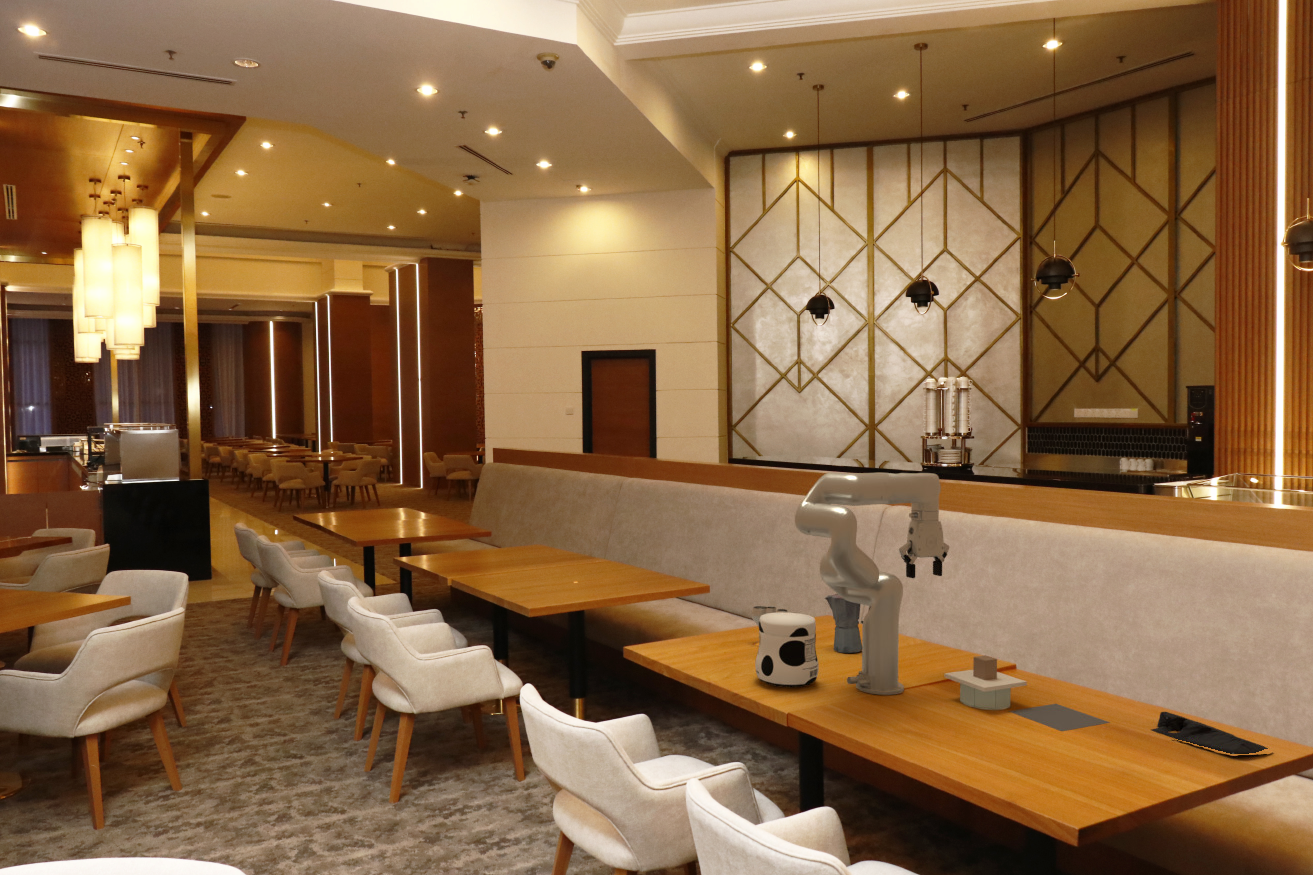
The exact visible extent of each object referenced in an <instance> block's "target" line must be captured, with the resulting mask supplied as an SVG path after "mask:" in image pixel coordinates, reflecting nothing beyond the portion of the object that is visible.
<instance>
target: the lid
mask: <svg viewBox="0 0 1313 875" xmlns="http://www.w3.org/2000/svg"><path fill="white" fill-rule="evenodd" d="M972 666H973V669H968V670H966V669H965V670H961V671H953V672H946V673H944V678H946V679H949V680H950V681H953V682H955V683H959V684H960V683H962V684H964V685H967V686H970V687H972V688H975V689H978V690H981V691H983V692H986V691H993V690H1000V689H1006V688H1011V689H1013V688H1018V687H1025V686H1026V687H1027V685H1028V684H1027V683H1028V682H1027V680H1024V679H1020V678H1017V677H1014V676H1011V675H1008V674H1005V673H1002V672H999V671H998V659H997V658H995V657H991V656H989V655H979V656H978V655H977V656H973V665H972Z"/></svg>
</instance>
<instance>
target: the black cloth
mask: <svg viewBox="0 0 1313 875" xmlns="http://www.w3.org/2000/svg"><path fill="white" fill-rule="evenodd" d="M1150 731H1152V732H1154V733H1157V734H1160V735H1164V736H1166V737H1169V738H1172V739H1178V740H1182V741H1186V742H1190V743H1193V744H1197V745H1199V746H1204V747H1208V748H1211V749H1215V750H1218V751H1223V752H1226V753H1230V754H1249V753H1256V752H1259V751H1262V750H1264V749H1268V747H1267V746H1264V745H1261V744H1258V743H1256V742H1254V741H1253V742H1252V741H1250V740H1247V739H1245V738H1241V737H1239V736H1236V735H1234V734H1233V733H1229V732H1227V731H1224V730H1222V729H1218V728H1216V727H1214V726H1211V725H1208V724H1204V723H1202V722H1200V721H1197V720H1196V721H1195V720H1193V719H1190V718H1187V717H1185V716H1182V715H1178V714H1175V713H1172V712H1168V711H1161V712H1160V713H1159V719H1158V722H1157V725H1156V728H1152V729H1150Z"/></svg>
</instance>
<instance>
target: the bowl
mask: <svg viewBox="0 0 1313 875" xmlns="http://www.w3.org/2000/svg"><path fill="white" fill-rule="evenodd" d="M959 684H960V685H959V686H960V692H959V693H960V694H959V701H960V703H962V704H963V705H965V706H967V707H971V708H974V709H975V708H976V709H980V710H986V711H987V710H988V711H998V710H999V711H1000V710H1005V709H1008V708H1010V707H1011V695H1012V694H1011V693H1012V692H1011V689H1012V688H1006V689H1000V690H993V691H986V692H983V691H981V690H978V689H975V688H972V687H970V686H967V685H964V684H962V683H959Z"/></svg>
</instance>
